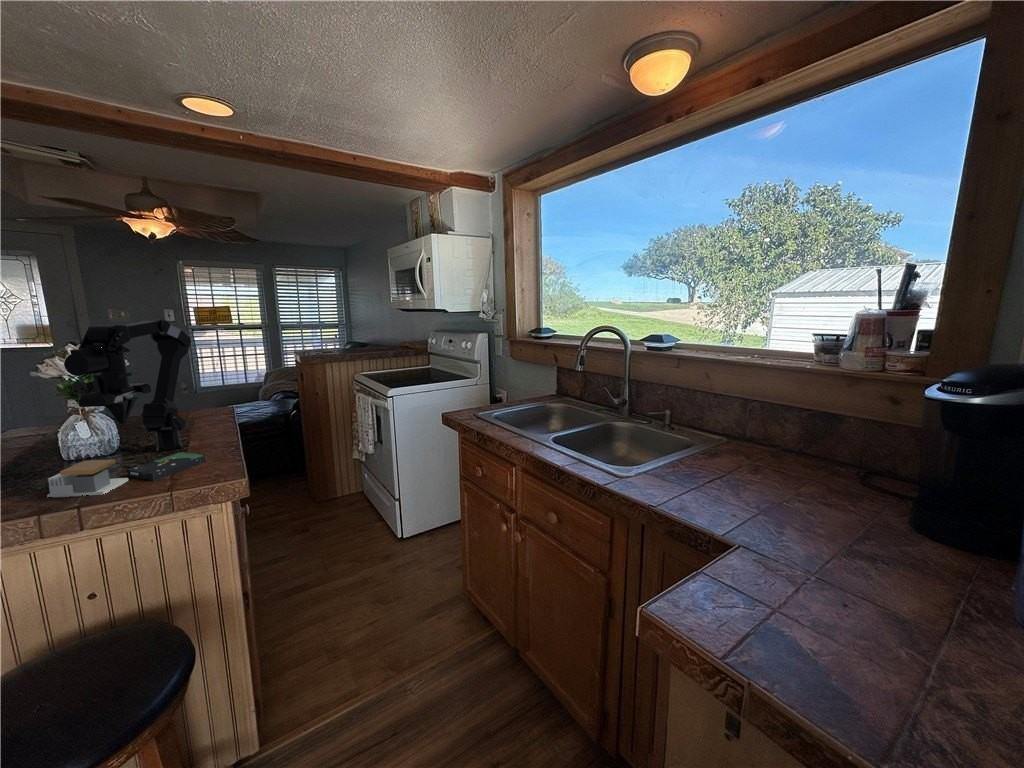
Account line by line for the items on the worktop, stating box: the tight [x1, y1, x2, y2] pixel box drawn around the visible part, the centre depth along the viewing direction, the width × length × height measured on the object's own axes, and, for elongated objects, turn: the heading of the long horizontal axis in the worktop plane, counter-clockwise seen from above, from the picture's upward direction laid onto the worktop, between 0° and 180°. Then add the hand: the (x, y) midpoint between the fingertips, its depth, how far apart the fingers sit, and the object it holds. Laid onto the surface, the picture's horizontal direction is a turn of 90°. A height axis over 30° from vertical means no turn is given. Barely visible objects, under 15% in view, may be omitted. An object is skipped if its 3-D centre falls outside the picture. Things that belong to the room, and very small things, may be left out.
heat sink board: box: [46, 468, 129, 498], centre depth 106 cm, size 8×12×5 cm
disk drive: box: [126, 451, 207, 482], centre depth 119 cm, size 10×3×15 cm
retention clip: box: [59, 458, 117, 477], centre depth 104 cm, size 7×7×6 cm
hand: (122, 423), depth 118 cm, fingers closed
